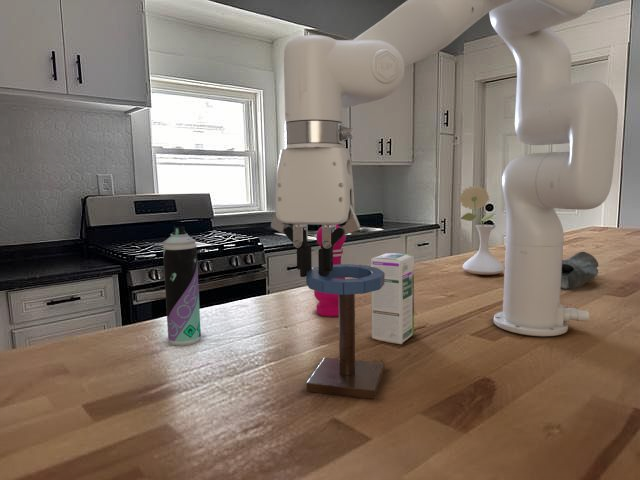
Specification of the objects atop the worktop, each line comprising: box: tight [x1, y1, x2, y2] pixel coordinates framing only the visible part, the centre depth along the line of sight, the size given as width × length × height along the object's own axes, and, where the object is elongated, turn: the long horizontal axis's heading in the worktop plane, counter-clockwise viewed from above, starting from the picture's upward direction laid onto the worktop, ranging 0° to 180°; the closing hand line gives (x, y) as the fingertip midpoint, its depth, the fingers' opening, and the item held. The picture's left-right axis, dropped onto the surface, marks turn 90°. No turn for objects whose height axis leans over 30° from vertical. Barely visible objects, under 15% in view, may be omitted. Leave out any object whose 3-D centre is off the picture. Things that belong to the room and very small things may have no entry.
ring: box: [305, 263, 385, 295], centre depth 62 cm, size 10×10×2 cm
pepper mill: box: [313, 224, 347, 318], centre depth 95 cm, size 7×7×20 cm
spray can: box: [162, 226, 202, 347], centre depth 80 cm, size 6×6×20 cm
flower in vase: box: [458, 185, 505, 276], centre depth 131 cm, size 13×11×25 cm
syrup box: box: [370, 252, 415, 345], centre depth 80 cm, size 6×6×14 cm
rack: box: [306, 294, 385, 400], centre depth 63 cm, size 9×9×13 cm
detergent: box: [561, 251, 599, 290], centre depth 122 cm, size 13×7×25 cm
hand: (315, 274), depth 63 cm, fingers closed on ring, 2 cm apart
